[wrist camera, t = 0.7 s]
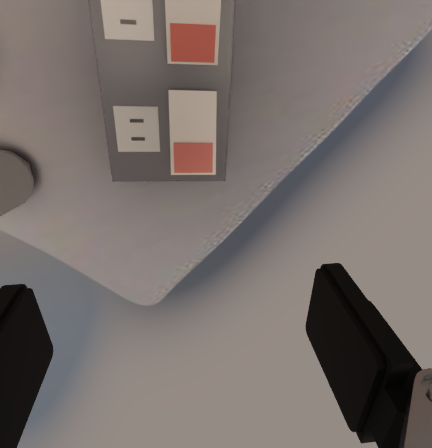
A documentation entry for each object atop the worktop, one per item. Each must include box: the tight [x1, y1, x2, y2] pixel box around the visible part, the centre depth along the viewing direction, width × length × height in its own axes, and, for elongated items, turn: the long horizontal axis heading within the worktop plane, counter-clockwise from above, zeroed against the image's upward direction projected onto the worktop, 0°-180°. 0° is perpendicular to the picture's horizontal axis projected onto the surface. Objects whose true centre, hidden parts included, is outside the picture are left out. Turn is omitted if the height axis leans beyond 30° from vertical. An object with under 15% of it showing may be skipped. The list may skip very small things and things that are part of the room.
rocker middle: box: [165, 0, 221, 65], centre depth 24 cm, size 7×4×1 cm, turn 178°
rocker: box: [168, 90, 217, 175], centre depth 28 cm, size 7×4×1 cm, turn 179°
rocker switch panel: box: [89, 0, 235, 181], centre depth 26 cm, size 28×11×4 cm, turn 178°
